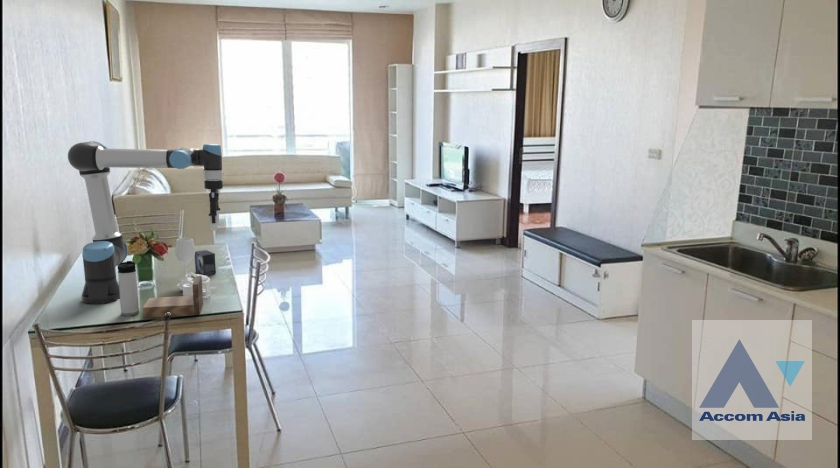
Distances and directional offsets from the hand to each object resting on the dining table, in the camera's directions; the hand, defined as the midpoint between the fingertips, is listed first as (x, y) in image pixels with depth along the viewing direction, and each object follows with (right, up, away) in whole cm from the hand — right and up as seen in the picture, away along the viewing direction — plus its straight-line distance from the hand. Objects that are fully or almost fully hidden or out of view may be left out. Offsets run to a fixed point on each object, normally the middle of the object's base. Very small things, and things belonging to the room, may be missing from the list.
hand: (215, 227), depth 276 cm
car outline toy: (-6, -29, -8) cm, 30 cm away
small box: (-13, -22, +26) cm, 37 cm away
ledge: (-5, -33, -32) cm, 46 cm away
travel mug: (-21, -33, -36) cm, 53 cm away
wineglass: (-14, -26, +5) cm, 30 cm away
